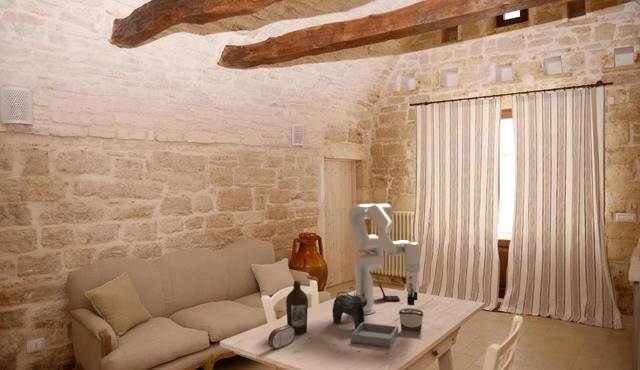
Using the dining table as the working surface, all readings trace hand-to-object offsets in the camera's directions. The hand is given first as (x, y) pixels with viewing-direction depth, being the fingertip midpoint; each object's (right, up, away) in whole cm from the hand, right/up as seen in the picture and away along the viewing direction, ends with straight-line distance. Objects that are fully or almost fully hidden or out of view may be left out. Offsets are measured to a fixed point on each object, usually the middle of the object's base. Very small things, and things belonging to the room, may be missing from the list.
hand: (412, 302), depth 223 cm
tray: (-20, -14, -11) cm, 27 cm away
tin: (-62, -15, -20) cm, 67 cm away
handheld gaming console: (-3, -13, +55) cm, 57 cm away
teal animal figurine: (-31, -14, +7) cm, 35 cm away
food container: (0, -14, +1) cm, 14 cm away
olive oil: (-57, -14, -2) cm, 58 cm away
